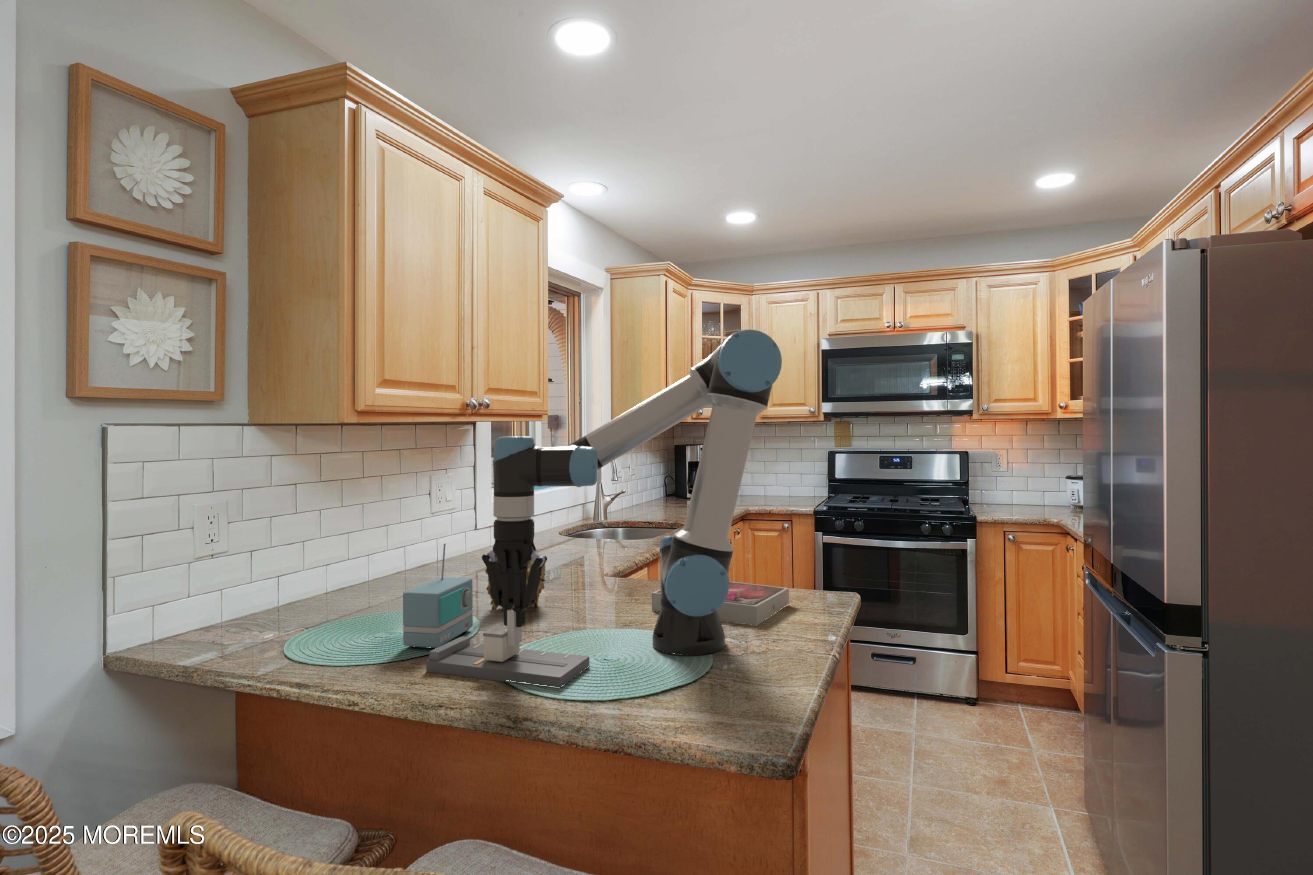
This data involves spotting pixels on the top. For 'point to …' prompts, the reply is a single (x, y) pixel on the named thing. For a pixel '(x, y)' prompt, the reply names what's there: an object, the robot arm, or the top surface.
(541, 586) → the seashell
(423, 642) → the radio
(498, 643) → the fader tab
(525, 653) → the fader console
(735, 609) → the product packaging
